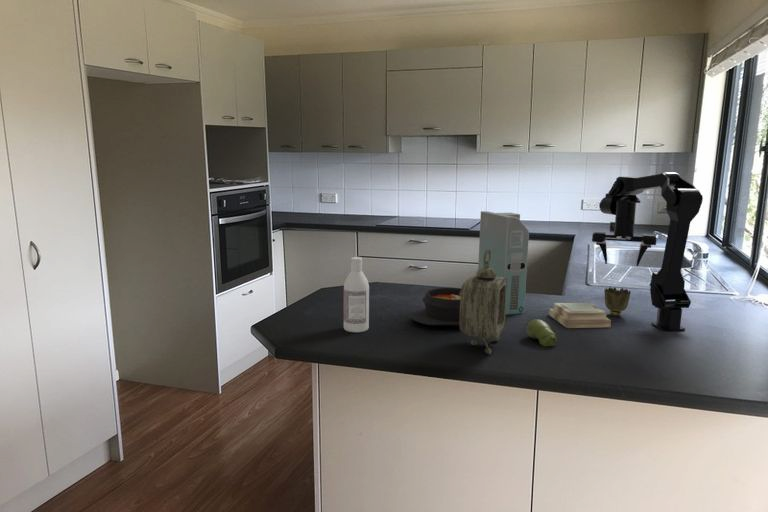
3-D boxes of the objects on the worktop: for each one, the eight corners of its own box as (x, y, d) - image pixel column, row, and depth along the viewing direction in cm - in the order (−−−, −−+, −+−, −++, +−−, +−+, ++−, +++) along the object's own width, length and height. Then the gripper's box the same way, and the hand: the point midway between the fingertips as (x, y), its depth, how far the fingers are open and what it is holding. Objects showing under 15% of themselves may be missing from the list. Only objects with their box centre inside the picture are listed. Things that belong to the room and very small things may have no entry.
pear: (542, 315, 154) (564, 332, 145) (539, 332, 156) (560, 350, 147) (524, 316, 152) (545, 334, 143) (521, 334, 154) (541, 352, 145)
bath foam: (350, 324, 162) (351, 254, 158) (372, 327, 159) (373, 257, 156) (339, 330, 156) (339, 258, 152) (361, 334, 153) (362, 261, 149)
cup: (600, 316, 173) (602, 290, 172) (603, 310, 180) (605, 286, 178) (627, 320, 170) (629, 294, 168) (629, 314, 176) (631, 289, 175)
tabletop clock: (493, 358, 137) (499, 255, 132) (457, 352, 140) (461, 252, 136) (504, 340, 150) (509, 246, 146) (470, 335, 153) (474, 243, 149)
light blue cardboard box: (524, 313, 176) (530, 216, 170) (502, 315, 173) (507, 217, 168) (496, 300, 191) (501, 210, 185) (476, 301, 188) (480, 211, 183)
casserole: (466, 308, 180) (467, 282, 179) (505, 324, 164) (506, 296, 162) (397, 318, 169) (398, 290, 167) (431, 336, 152) (432, 306, 151)
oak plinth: (610, 327, 163) (611, 312, 162) (566, 327, 161) (567, 313, 160) (589, 314, 175) (590, 301, 175) (548, 314, 174) (549, 301, 173)
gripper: (655, 215, 185) (651, 263, 187) (594, 213, 191) (591, 259, 194) (658, 218, 174) (654, 268, 177) (593, 216, 181) (590, 264, 184)
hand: (621, 264), depth 183 cm, fingers open, 9 cm apart
